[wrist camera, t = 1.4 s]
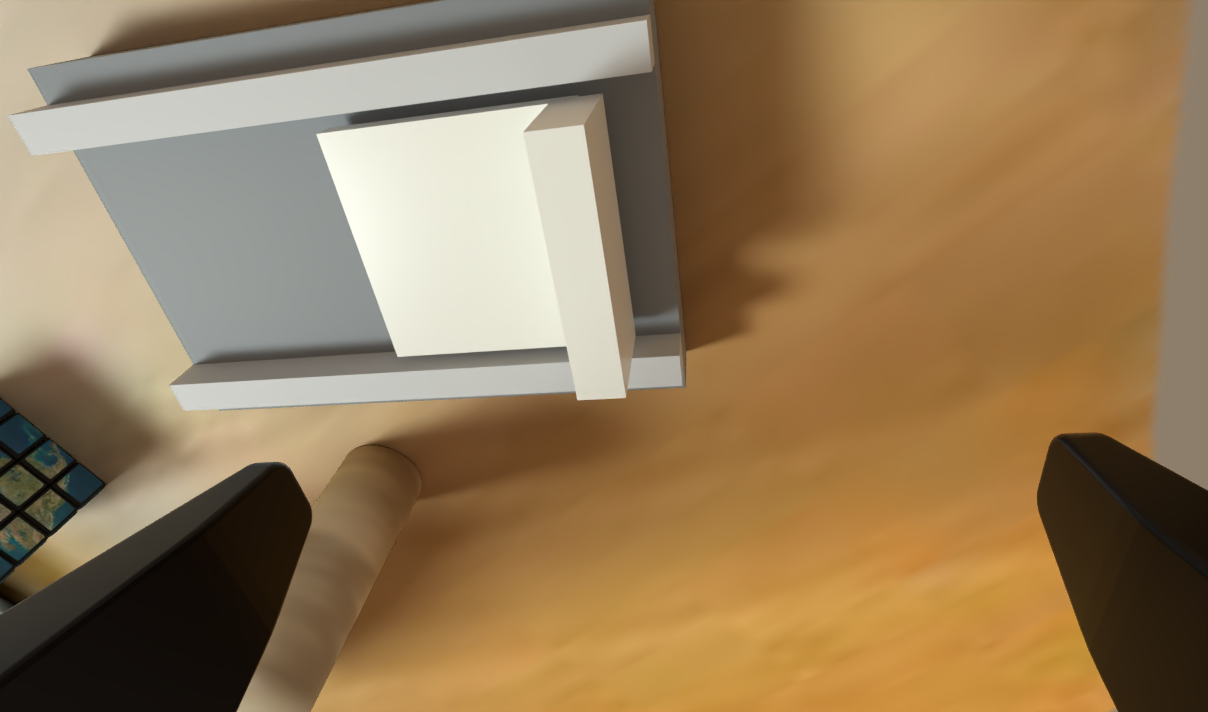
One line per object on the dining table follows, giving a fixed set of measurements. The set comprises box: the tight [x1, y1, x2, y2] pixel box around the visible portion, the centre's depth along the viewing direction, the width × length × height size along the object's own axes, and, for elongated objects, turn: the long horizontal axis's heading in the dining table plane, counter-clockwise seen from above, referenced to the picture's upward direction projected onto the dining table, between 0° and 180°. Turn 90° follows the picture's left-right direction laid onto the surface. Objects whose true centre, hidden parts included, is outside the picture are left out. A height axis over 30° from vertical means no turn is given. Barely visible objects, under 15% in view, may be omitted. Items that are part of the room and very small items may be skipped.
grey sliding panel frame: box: [8, 0, 686, 411], centre depth 19 cm, size 11×16×3 cm
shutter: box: [316, 93, 636, 400], centre depth 16 cm, size 6×7×3 cm
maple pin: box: [237, 445, 422, 712], centre depth 22 cm, size 3×3×9 cm
